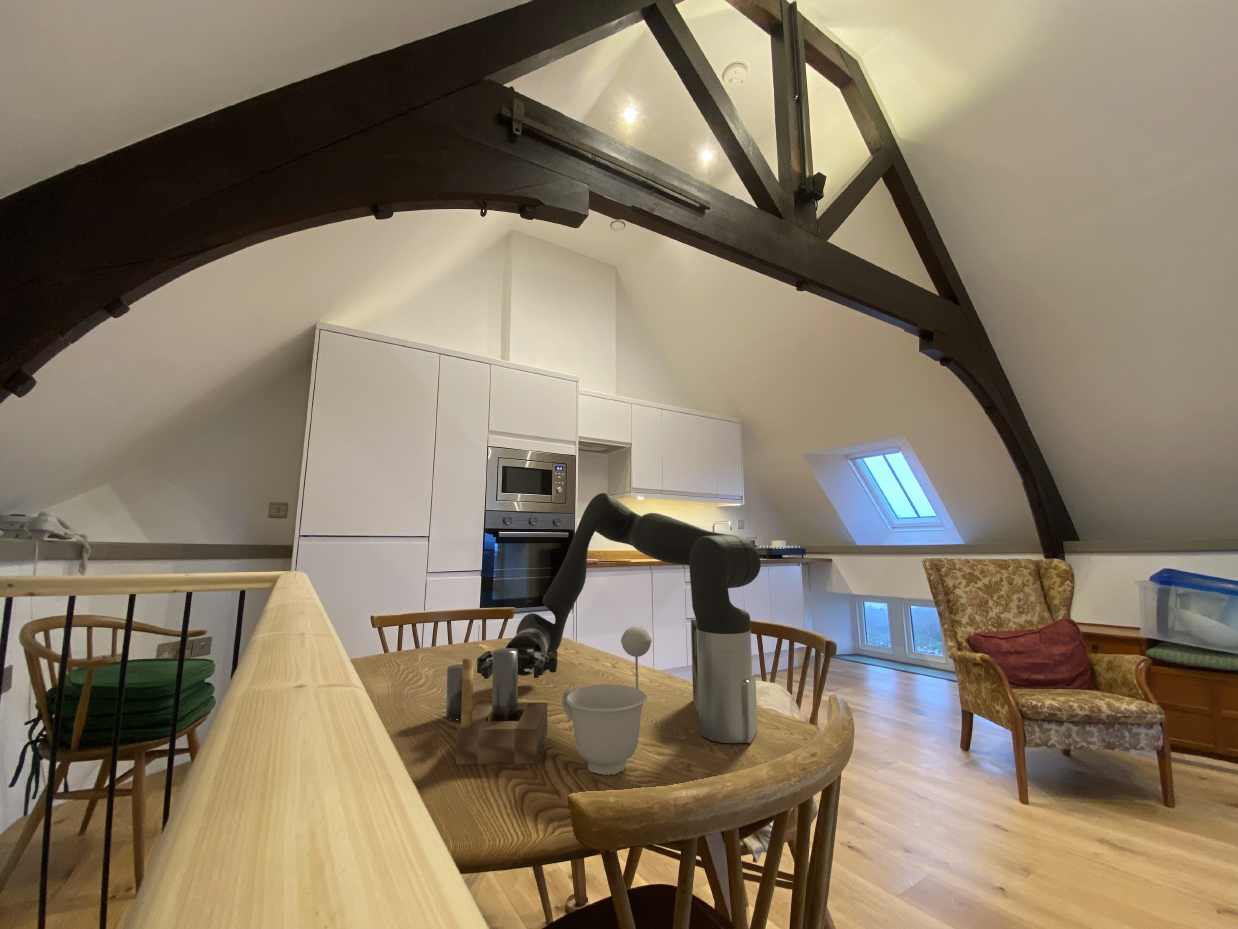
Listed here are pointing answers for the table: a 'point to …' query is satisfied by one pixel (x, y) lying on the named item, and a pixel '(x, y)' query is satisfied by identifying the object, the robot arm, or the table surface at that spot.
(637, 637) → the lollipop
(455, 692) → the short pin
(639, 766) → the table surface
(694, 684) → the coffee box
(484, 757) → the hole block
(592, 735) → the teacup
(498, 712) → the long pin
